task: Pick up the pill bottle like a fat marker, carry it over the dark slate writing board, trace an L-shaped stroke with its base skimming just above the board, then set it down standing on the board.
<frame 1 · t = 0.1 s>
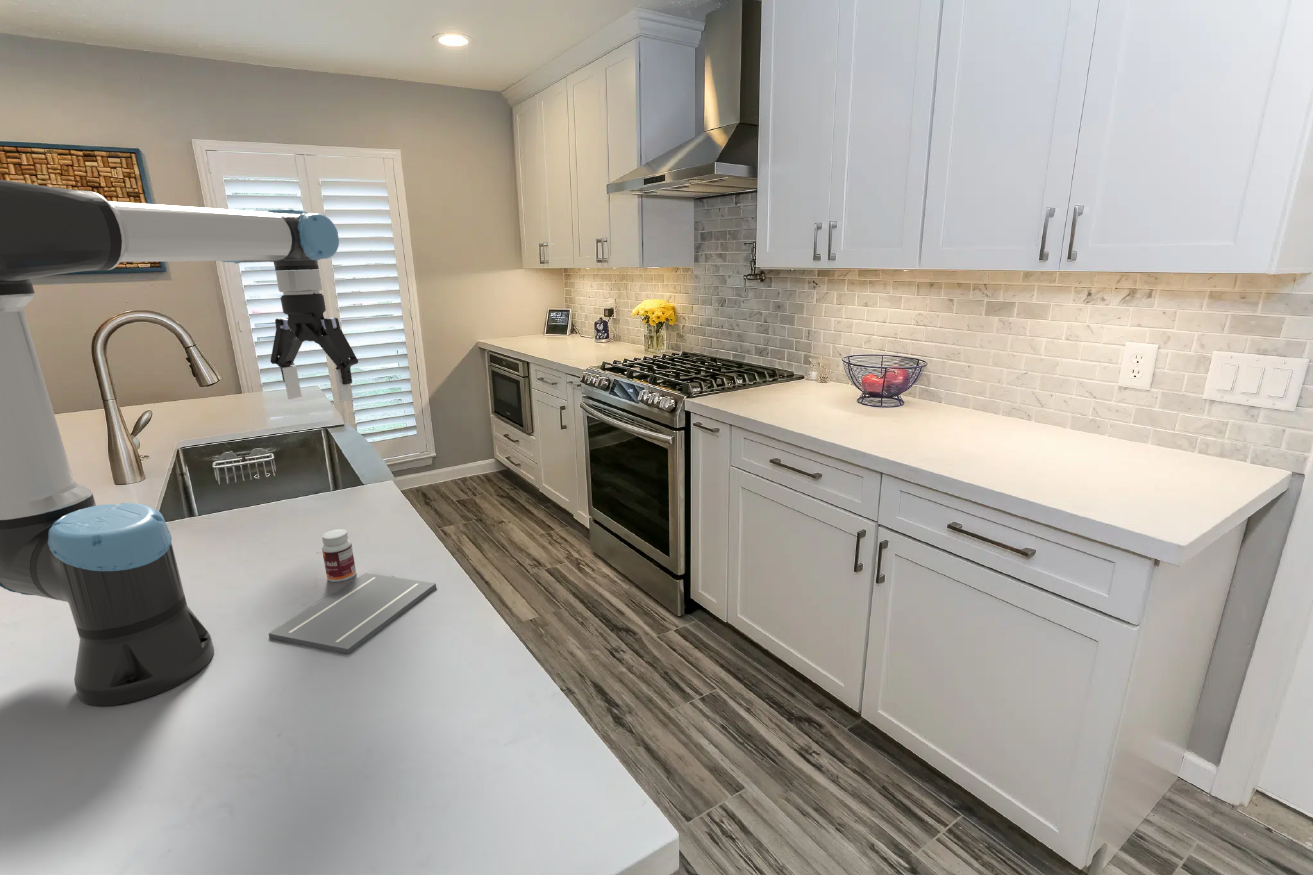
hand: (320, 399, 131), 28 cm above the countertop, fingers open, 13 cm apart
slate: (358, 611, 103), on the countertop
pill bottle: (342, 577, 115), on the countertop
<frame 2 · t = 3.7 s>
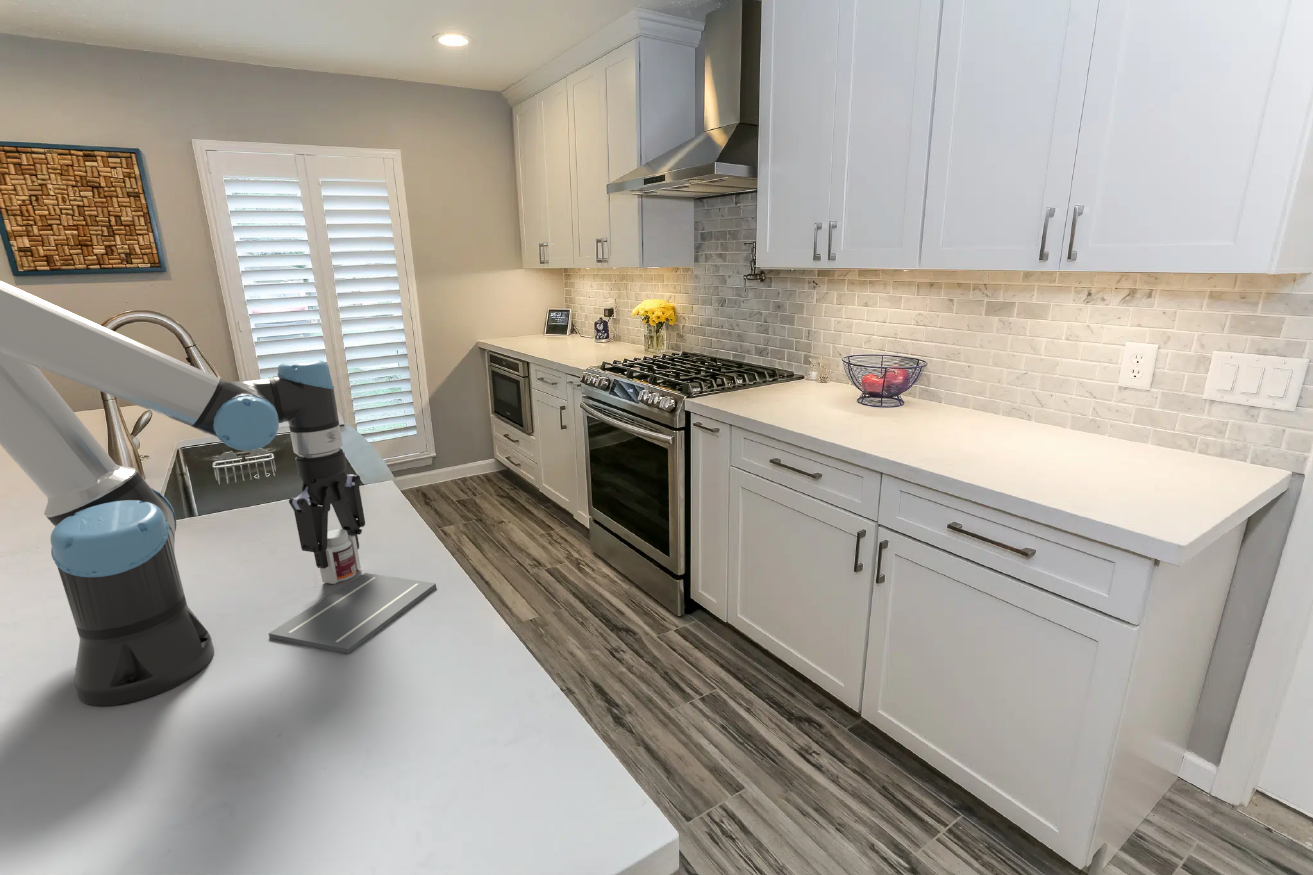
hand: (342, 574, 115), 0 cm above the countertop, fingers closed on pill bottle, 5 cm apart
pill bottle: (342, 577, 115), on the countertop, touching gripper
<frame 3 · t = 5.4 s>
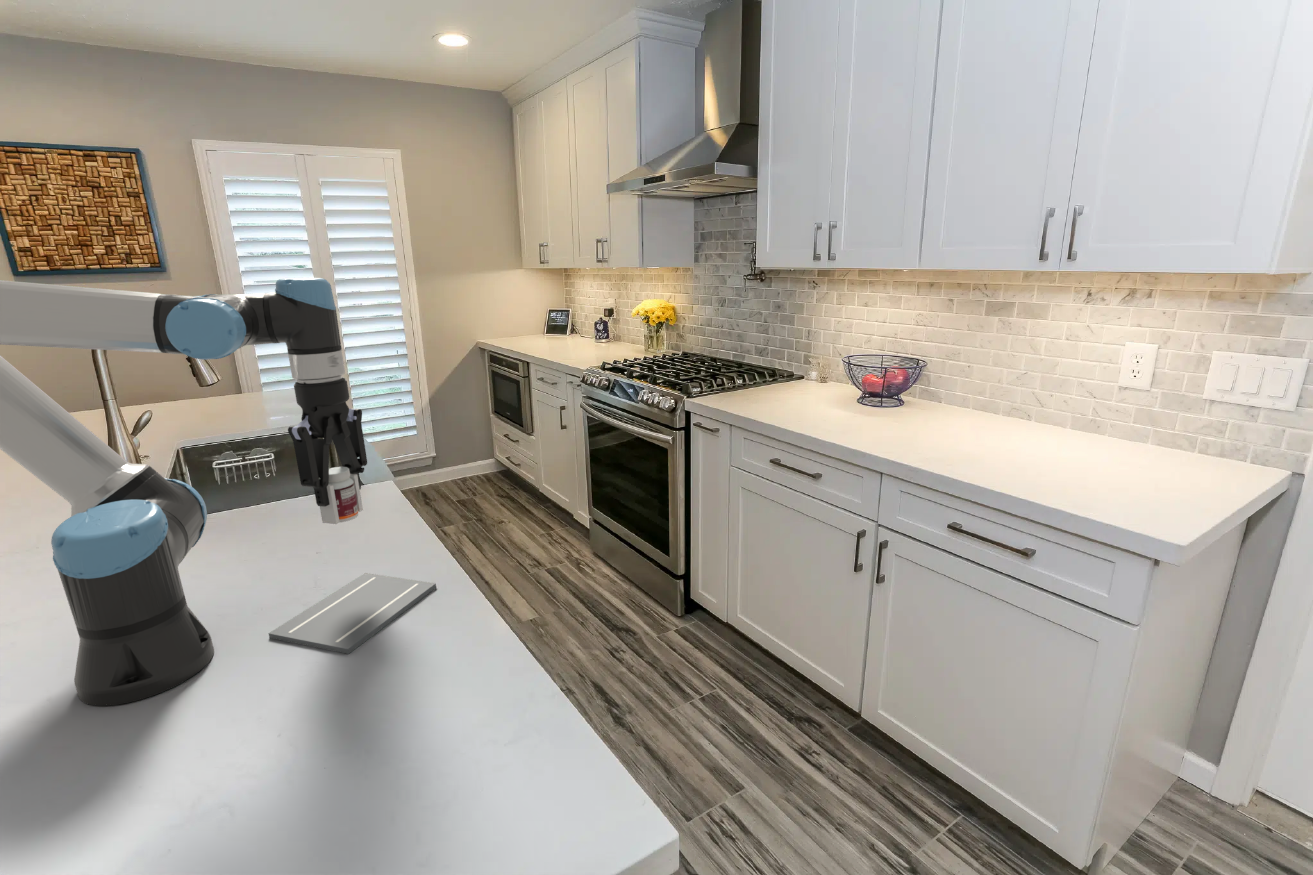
hand: (343, 516, 107), 14 cm above the countertop, fingers closed on pill bottle, 5 cm apart
pill bottle: (343, 519, 107), point 13 cm above the countertop, touching gripper
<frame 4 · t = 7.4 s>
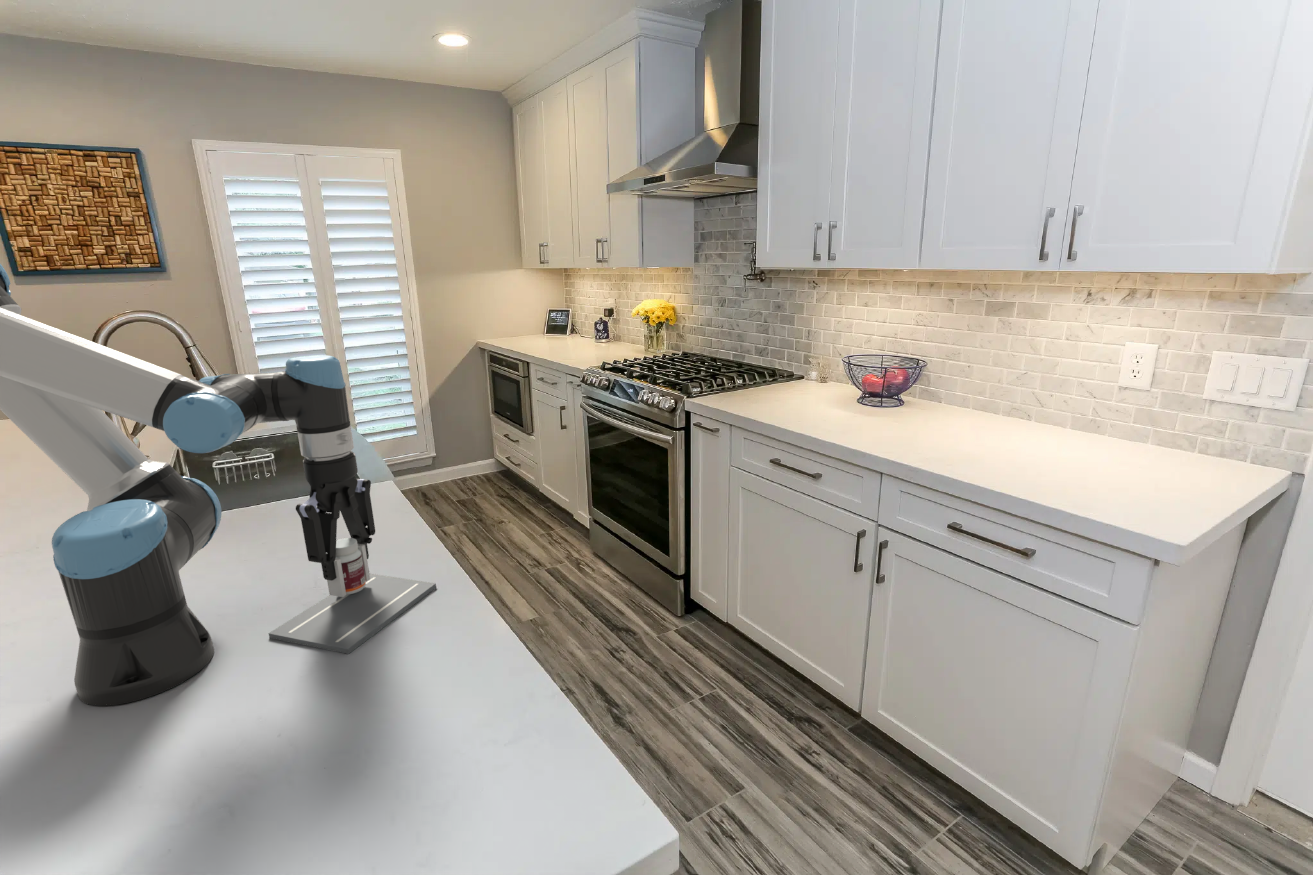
hand: (350, 586, 107), 2 cm above the countertop, fingers closed on pill bottle, 5 cm apart
pill bottle: (350, 589, 107), point 1 cm above the countertop, touching gripper
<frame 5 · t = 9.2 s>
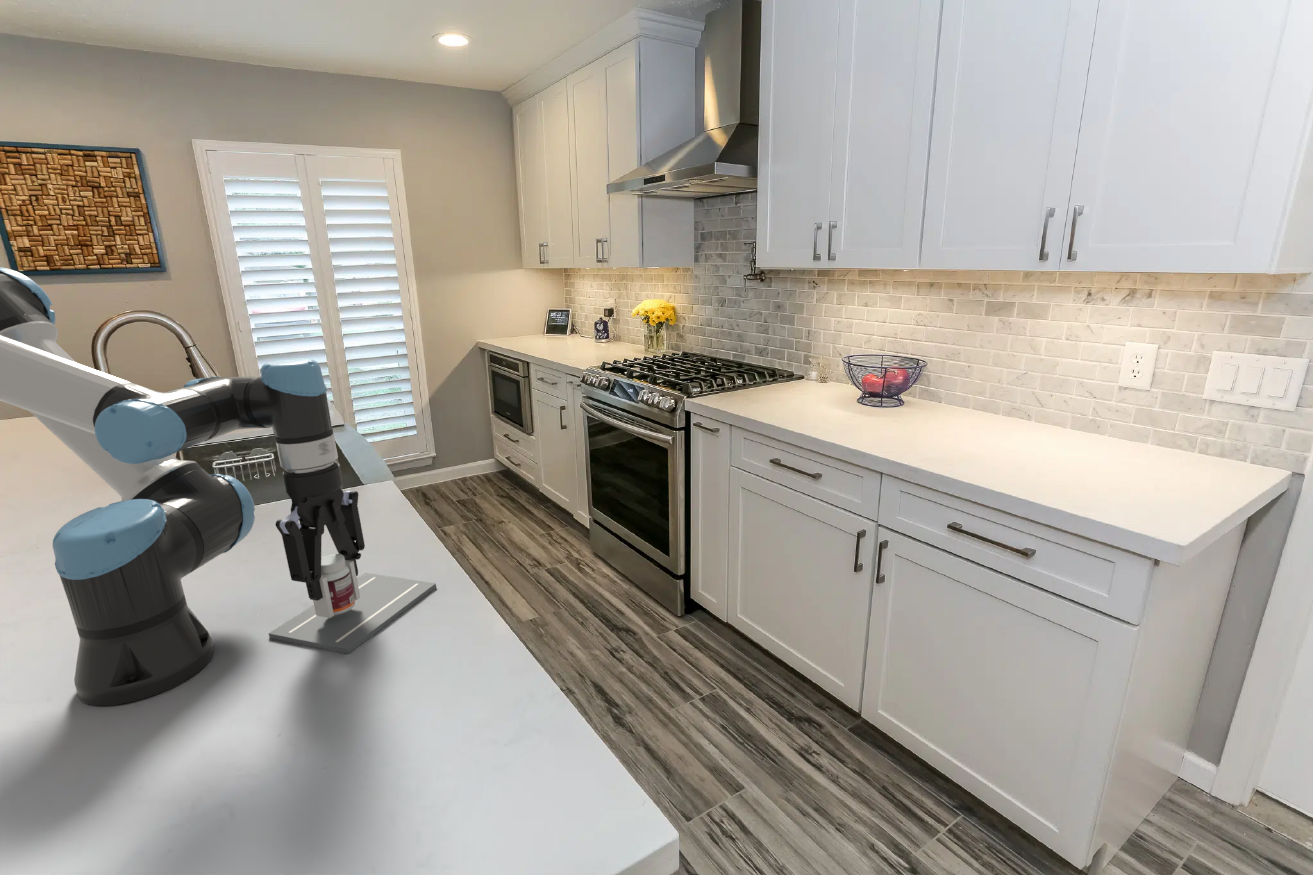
hand: (338, 606, 100), 2 cm above the countertop, fingers closed on pill bottle, 5 cm apart
pill bottle: (339, 609, 100), point 2 cm above the countertop, touching gripper
when the fingers open (2 cm above the countertop, at t = 10.8 s): pill bottle drops 1 cm, resting on slate.
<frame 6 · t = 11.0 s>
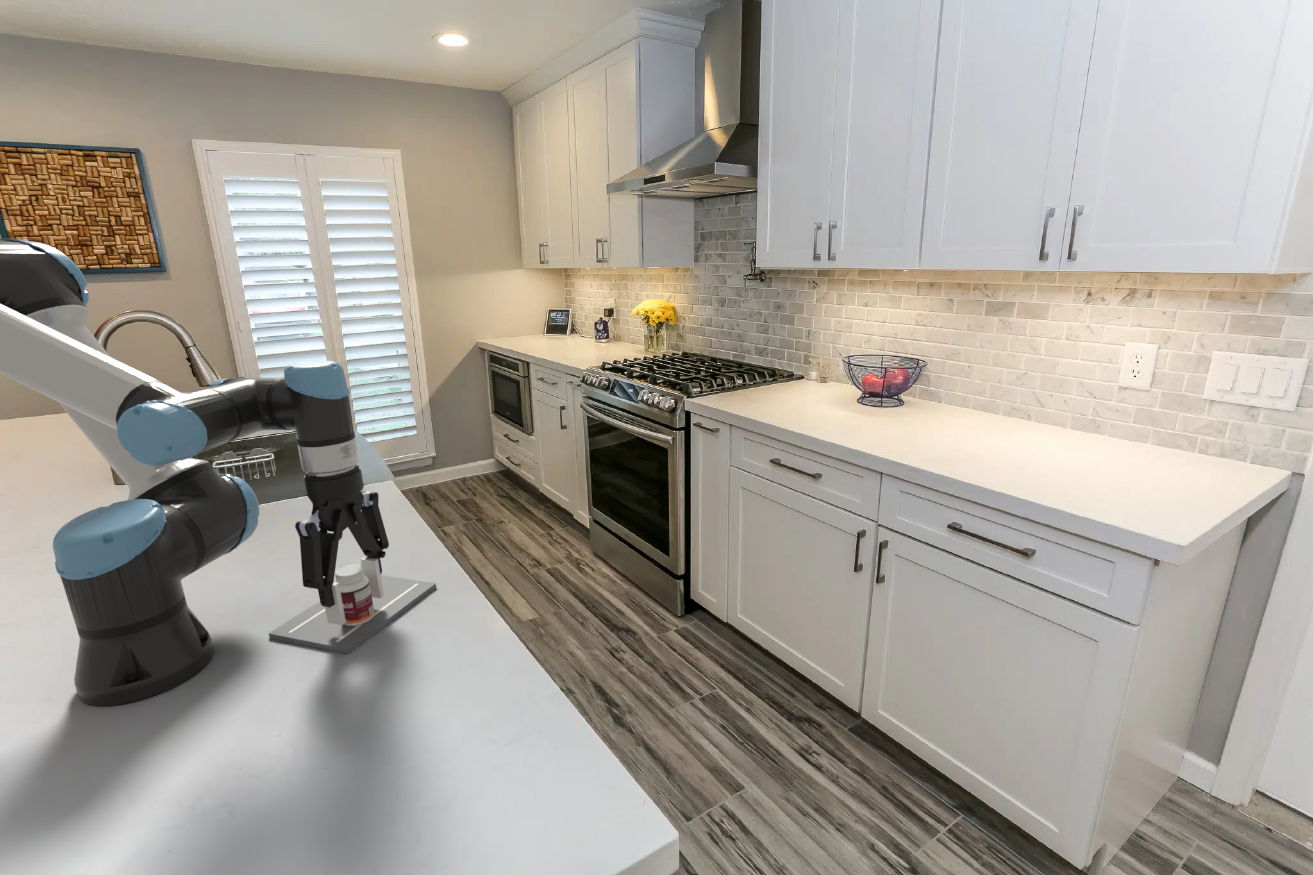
hand: (356, 608, 99), 3 cm above the countertop, fingers open, 7 cm apart
pill bottle: (358, 620, 99), point 1 cm above the countertop, touching slate
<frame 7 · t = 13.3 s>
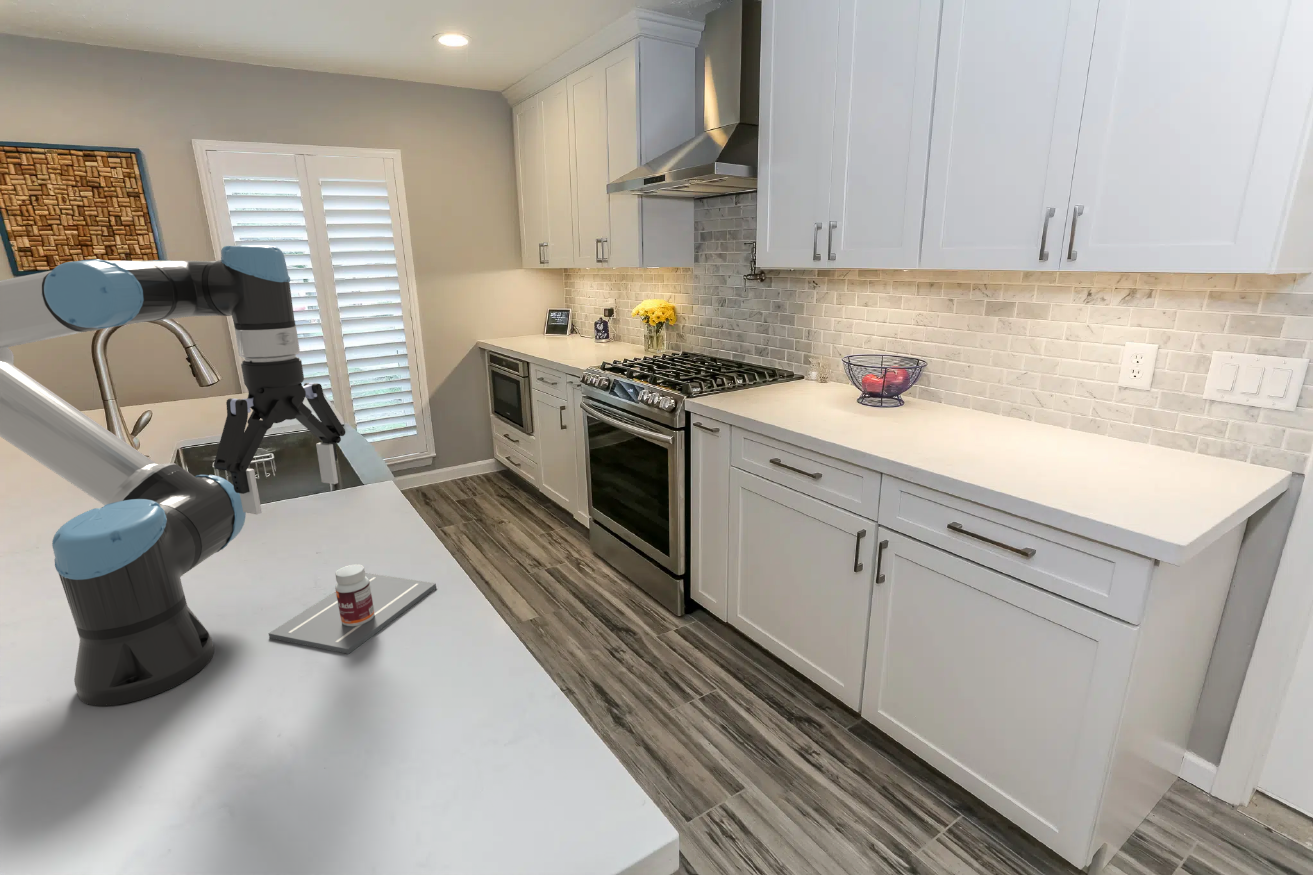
hand: (293, 496, 97), 20 cm above the countertop, fingers open, 13 cm apart
nothing on the countertop moved.
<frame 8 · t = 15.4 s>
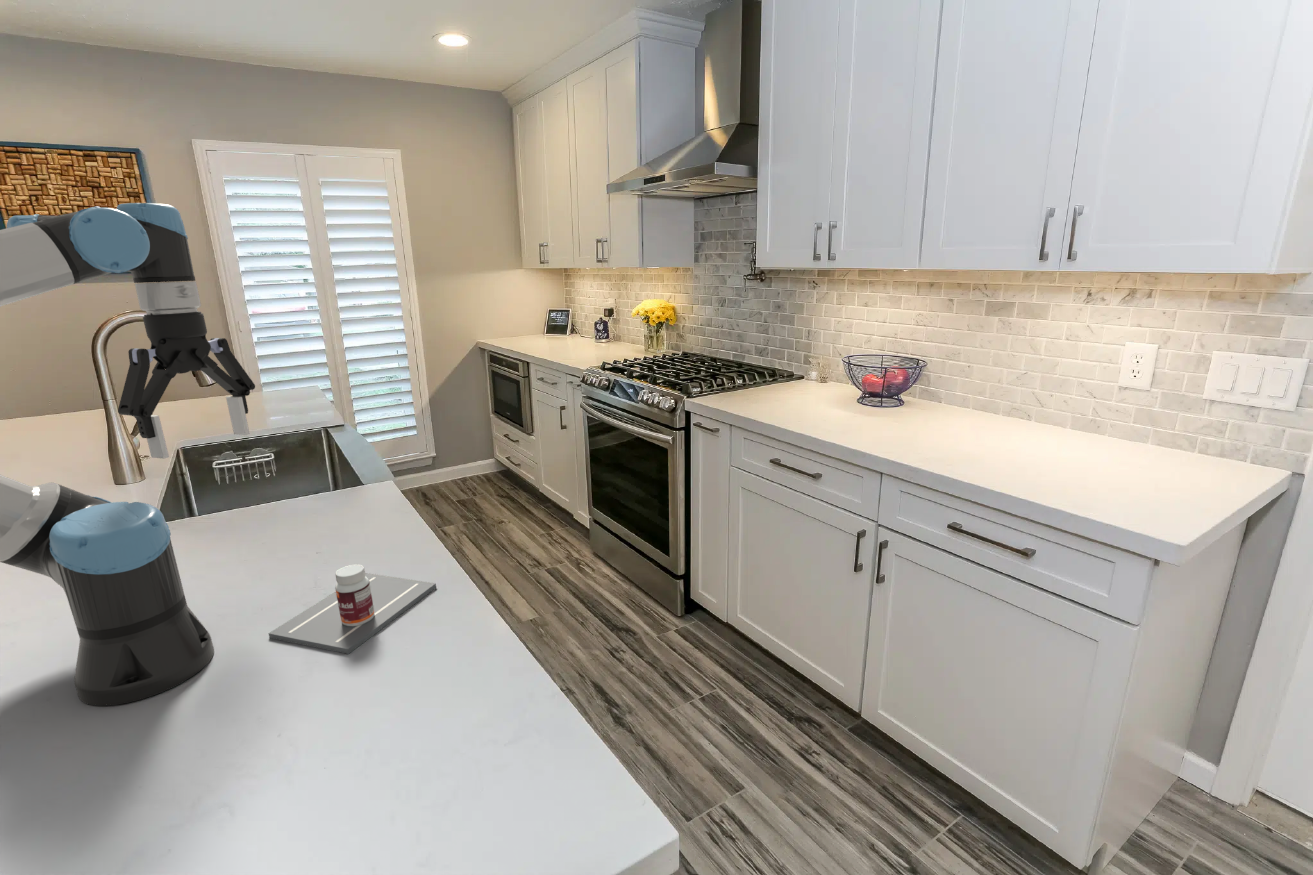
hand: (203, 445, 103), 27 cm above the countertop, fingers open, 13 cm apart
nothing on the countertop moved.
at the end: pill bottle inside the target area on the slate (4.2 cm from its centre), point 0.6 cm above the slate's base; pill bottle tilted 0°; the gripper is holding nothing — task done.
